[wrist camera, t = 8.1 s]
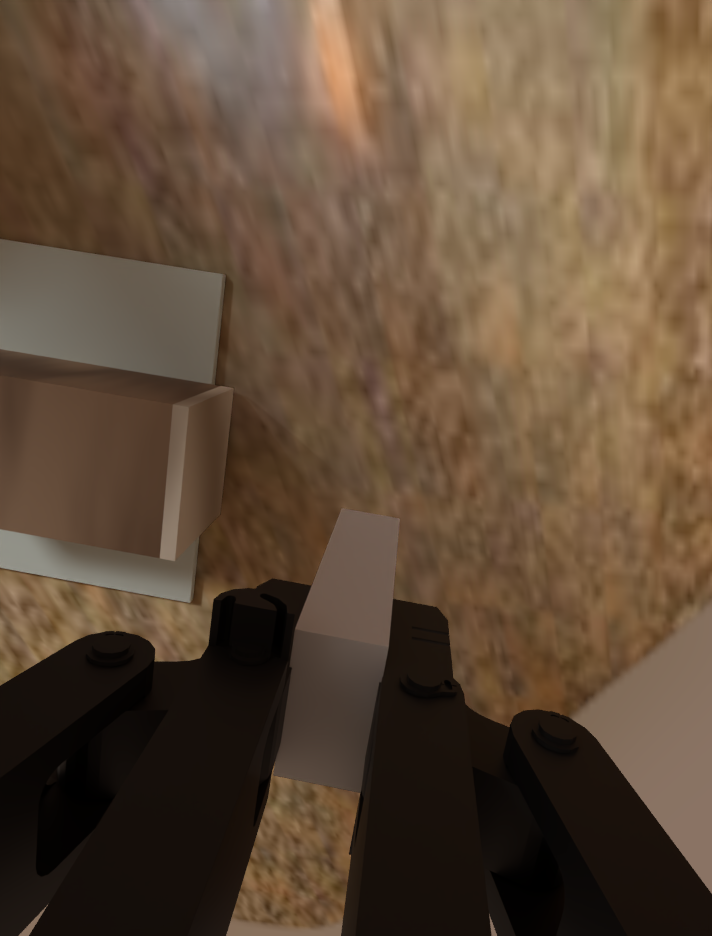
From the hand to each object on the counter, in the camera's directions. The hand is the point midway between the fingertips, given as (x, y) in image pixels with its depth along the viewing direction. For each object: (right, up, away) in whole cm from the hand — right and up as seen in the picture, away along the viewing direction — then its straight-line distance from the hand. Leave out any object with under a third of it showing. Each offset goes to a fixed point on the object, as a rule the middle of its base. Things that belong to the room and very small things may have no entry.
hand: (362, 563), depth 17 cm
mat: (-11, +4, +9) cm, 15 cm away
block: (-5, +2, +6) cm, 8 cm away
